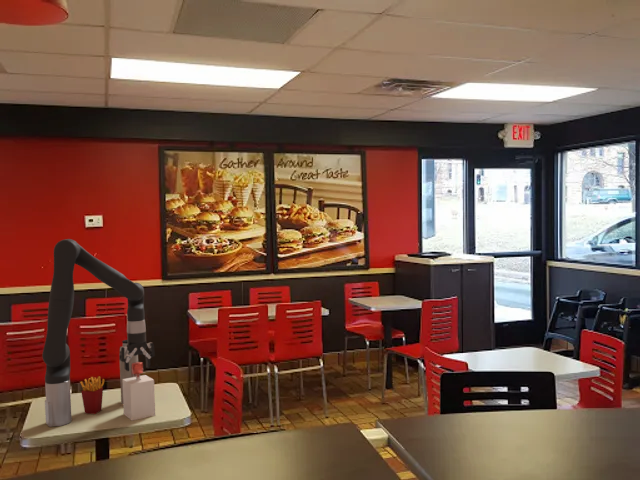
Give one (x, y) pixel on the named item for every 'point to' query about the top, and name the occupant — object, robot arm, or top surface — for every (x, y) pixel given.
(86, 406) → the french fries
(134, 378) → the pump dispenser
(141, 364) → the pump plunger
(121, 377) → the thermos bottle
